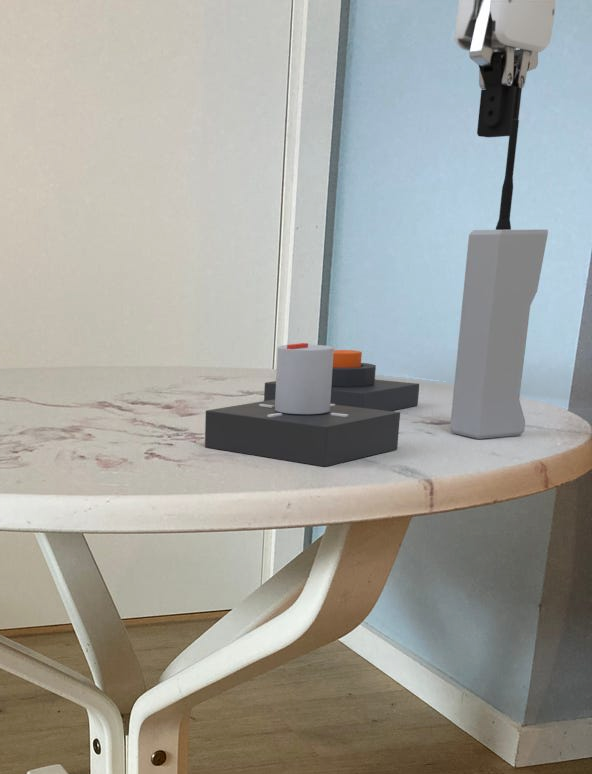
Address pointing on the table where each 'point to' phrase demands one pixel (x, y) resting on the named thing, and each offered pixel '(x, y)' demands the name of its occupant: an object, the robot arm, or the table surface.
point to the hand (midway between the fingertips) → (496, 135)
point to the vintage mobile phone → (496, 321)
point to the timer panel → (302, 432)
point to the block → (364, 390)
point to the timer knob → (303, 379)
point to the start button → (347, 358)
